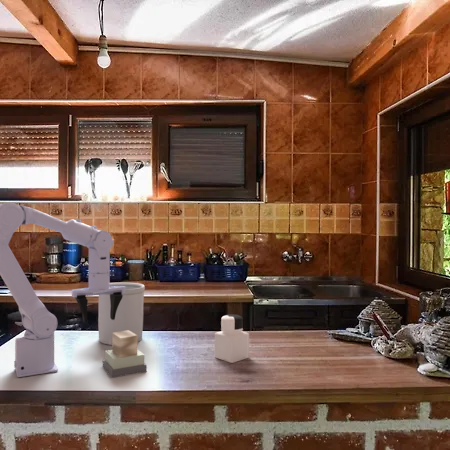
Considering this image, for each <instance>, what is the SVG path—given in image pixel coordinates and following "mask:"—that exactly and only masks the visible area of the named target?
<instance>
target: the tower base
mask: <svg viewBox="0 0 450 450" xmlns="http://www.w3.org/2000/svg"><path fill="white" fill-rule="evenodd" d="M102 368H103V369H104V370H105V372H106V373H107V374H108V375H109V376H110V377H111V378H112V379H113V378H118V377H123V376H129V375H136V374H142V373H146V372H147V368H148V367H147V364H146V363H145V362H144V364H143V365H137V366H131V367H125V368H119V369H113V368H112V367H111V366H110V365H109V364H108V363H107V362H106V361H105V359H102Z"/></svg>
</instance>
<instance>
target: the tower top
mask: <svg viewBox="0 0 450 450" xmlns="http://www.w3.org/2000/svg"><path fill="white" fill-rule="evenodd" d="M104 358H105V359H104V360H105V361H106V362H107V363H108V364H109V365H110V366H111V367H112V368H113V369H119V368H125V367H131V366H137V365H143V364H144V363H145V354H144V353H143V352H142V351H140V350H139V349H138V348H137V355H133V356H127V357H122V358H120V357H119V356H118V355H116V354H115V353H114V352H112V349H108V350H105V352H104Z"/></svg>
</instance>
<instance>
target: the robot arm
mask: <svg viewBox="0 0 450 450" xmlns="http://www.w3.org/2000/svg"><path fill="white" fill-rule="evenodd" d="M32 224H33V225H36V226H39V227H41V228H42V227H43V228H44V229H45V228H46V229H49V230H52V231H55V232H57V233H60V234H61V235H62V238H63V240H66V241H69V242H72V243H73V244H77V245H81V246H83V247H86V248H88V287H84V288H82V287H81V288H76V289H71V297H72V298H74V299H75V300H76V303H77V304H78V306H79V310H80V312H81V317H82V322H83V323H84V324H87V323H88V302H89V301H88V299H87V297H90V296H99V295H105V294H110V303H111V310H110V318H111V319H112V320H115V315H116V311H117V308H118V306H119V303H120V301H121V300H122V297H123V295H122V294H123V293H125V286H110V283H111V281H110V280H111V279H110V276H111V275H110V273H111V271H110V265H111V264H110V260H111V257H110V252H111V249H112V247H113V245H114V243H115V242H114V239H113V237H112V235H111V234H110V232H108V231H107V230H101V229H98V227H97V225H88V224H86V223H83V221H82V219H79V218H75V219H74V218H73V219H69V220H67V221H64V220H62V219H60V218H58V217H55V216H52V215H50V214H48V213H45V212H43V211H40V210H38V209H35V208H33V207H29V206H25V205H18V204H17V203H14V202H6V203H3V202H1V203H0V277H1V279H2V280H3V282H4V284H5V286H6V287H7V289H8V291H9V292H10V294H11V296H12V297H13V299H14V301H15V302H16V304H17V306H18V312H19V313H20V315H21V324H22V326H23V327H24V329H26V330H25V332H24V335H23V336H21V337H17V338H15V340H14V341H15V342H14V343H15V344H14V349H15V350H14V352H15V353H14V357H15V358H14V362H13V363H14V365H13V366H14V369H15V373H16V377H17V378H24V377H29V376H35V375H43V374H48V373H53V372H58V371H59V368H58V367H57V364H56V363H55V331H56V330H57V328H58V319H57V317H56V315H55V314H53V313H51V312H50V311H49V310H48V309H47V307H46V306H45V304H44V303H43V302H42V301H41V300H40V299H39V297H38V295H37V293H36V292H35V290H34V288H33V286H32V285H31V283H30V281H29V280H28V278H27V276H26V274H25V272H24V271H23V269H22V267H21V266H20V263H19V261H18V260H17V258H16V256H15V255H14V253H13V251H12V249H11V248H10V246H9V244H10V242H11V239H12V237H13V235H14V233H15V232H16V231H17V230H18V228H20V226H21V225H24V226H25V225H32ZM121 293H122V294H121Z"/></svg>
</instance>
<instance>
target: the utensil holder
mask: <svg viewBox="0 0 450 450" xmlns="http://www.w3.org/2000/svg"><path fill="white" fill-rule="evenodd" d="M110 286H125V293H123V294H122V293H121V294H122V295H123V297H122V300H121V301H120V303H119V306H118V308H117V311H116V315H115V320H112V319H111V318H110V310H111V303H110V294H105V295H98V320H97V322H98V325H97V326H98V341H99V342H100V343H101V344H104V345H110V346H112V333H114V332H120V331H126V330H129V331H131V332H132V333H134V334H136V335H137V343H138V342H140V341H141V340H142V339H143V328H144V301H145V290H146V287H145V285H144V284H143V283H139V282H125V281H124V282H121V281H120V282H119V281H118V282H110Z"/></svg>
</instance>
